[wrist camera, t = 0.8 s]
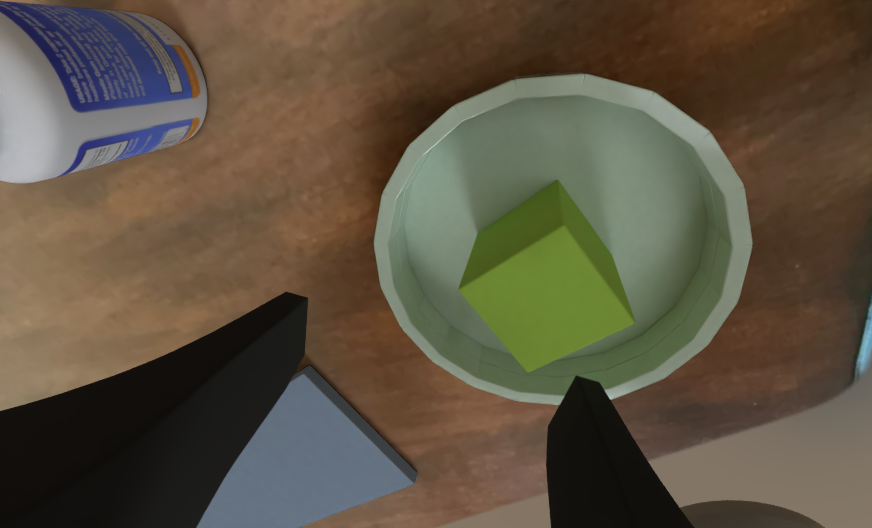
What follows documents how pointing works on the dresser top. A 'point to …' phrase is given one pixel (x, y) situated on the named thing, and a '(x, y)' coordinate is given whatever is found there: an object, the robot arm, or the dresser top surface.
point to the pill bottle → (90, 89)
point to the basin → (597, 200)
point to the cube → (545, 280)
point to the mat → (306, 463)
